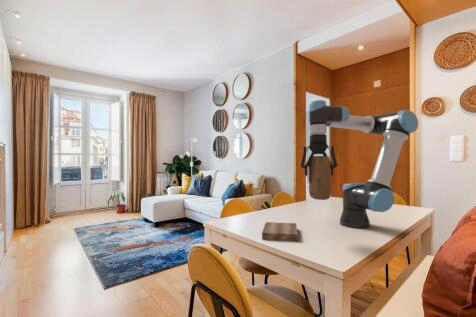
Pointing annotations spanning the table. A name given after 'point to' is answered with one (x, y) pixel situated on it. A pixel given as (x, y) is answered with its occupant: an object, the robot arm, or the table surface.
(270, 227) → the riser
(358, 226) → the robot arm
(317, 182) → the block
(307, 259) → the table surface
